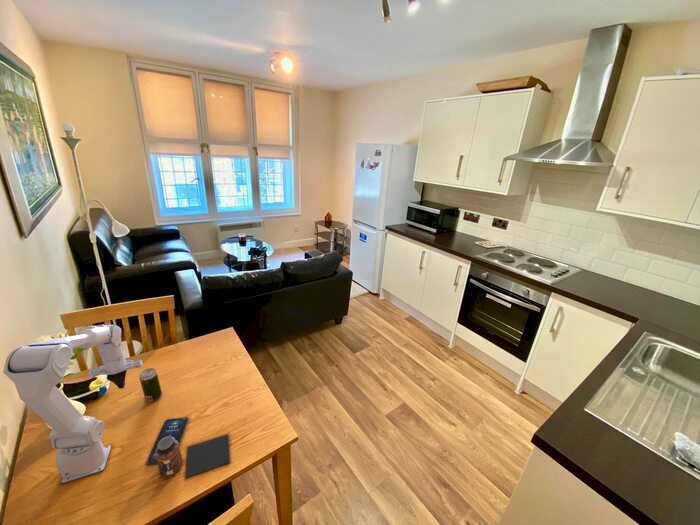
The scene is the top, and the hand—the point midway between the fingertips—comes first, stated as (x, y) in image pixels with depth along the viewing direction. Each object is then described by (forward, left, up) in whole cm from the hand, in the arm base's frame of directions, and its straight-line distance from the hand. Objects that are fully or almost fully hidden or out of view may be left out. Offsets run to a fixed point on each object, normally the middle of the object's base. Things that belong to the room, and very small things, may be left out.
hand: (122, 386), depth 102 cm
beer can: (+8, 0, -9) cm, 12 cm away
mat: (+27, -31, -8) cm, 42 cm away
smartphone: (+15, -21, -8) cm, 27 cm away
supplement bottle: (+17, -31, -8) cm, 36 cm away
